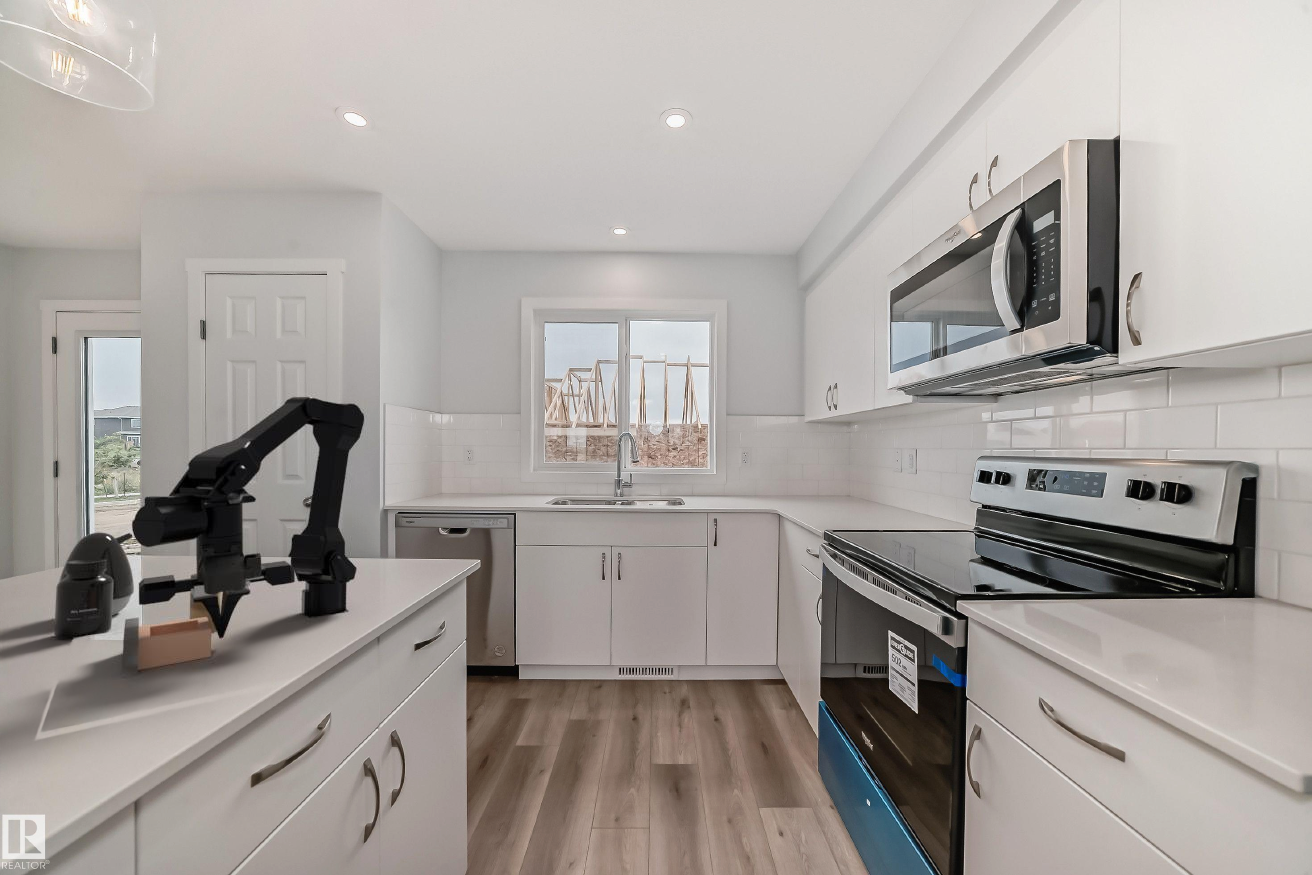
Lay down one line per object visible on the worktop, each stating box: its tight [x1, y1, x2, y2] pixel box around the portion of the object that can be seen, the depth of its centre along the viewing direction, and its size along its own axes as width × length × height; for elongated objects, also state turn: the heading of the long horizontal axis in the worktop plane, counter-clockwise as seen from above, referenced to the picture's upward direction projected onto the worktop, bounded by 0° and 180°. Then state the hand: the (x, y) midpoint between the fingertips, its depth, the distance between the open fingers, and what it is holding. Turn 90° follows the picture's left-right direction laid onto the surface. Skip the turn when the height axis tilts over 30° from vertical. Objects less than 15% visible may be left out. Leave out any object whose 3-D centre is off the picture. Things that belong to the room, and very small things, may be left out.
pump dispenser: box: [58, 531, 135, 617], centre depth 107 cm, size 10×10×15 cm
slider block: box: [138, 617, 212, 671], centre depth 86 cm, size 8×8×4 cm
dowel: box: [189, 572, 222, 634], centre depth 97 cm, size 4×4×10 cm
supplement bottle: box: [53, 559, 114, 640], centre depth 97 cm, size 7×7×12 cm
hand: (220, 637), depth 89 cm, fingers closed
